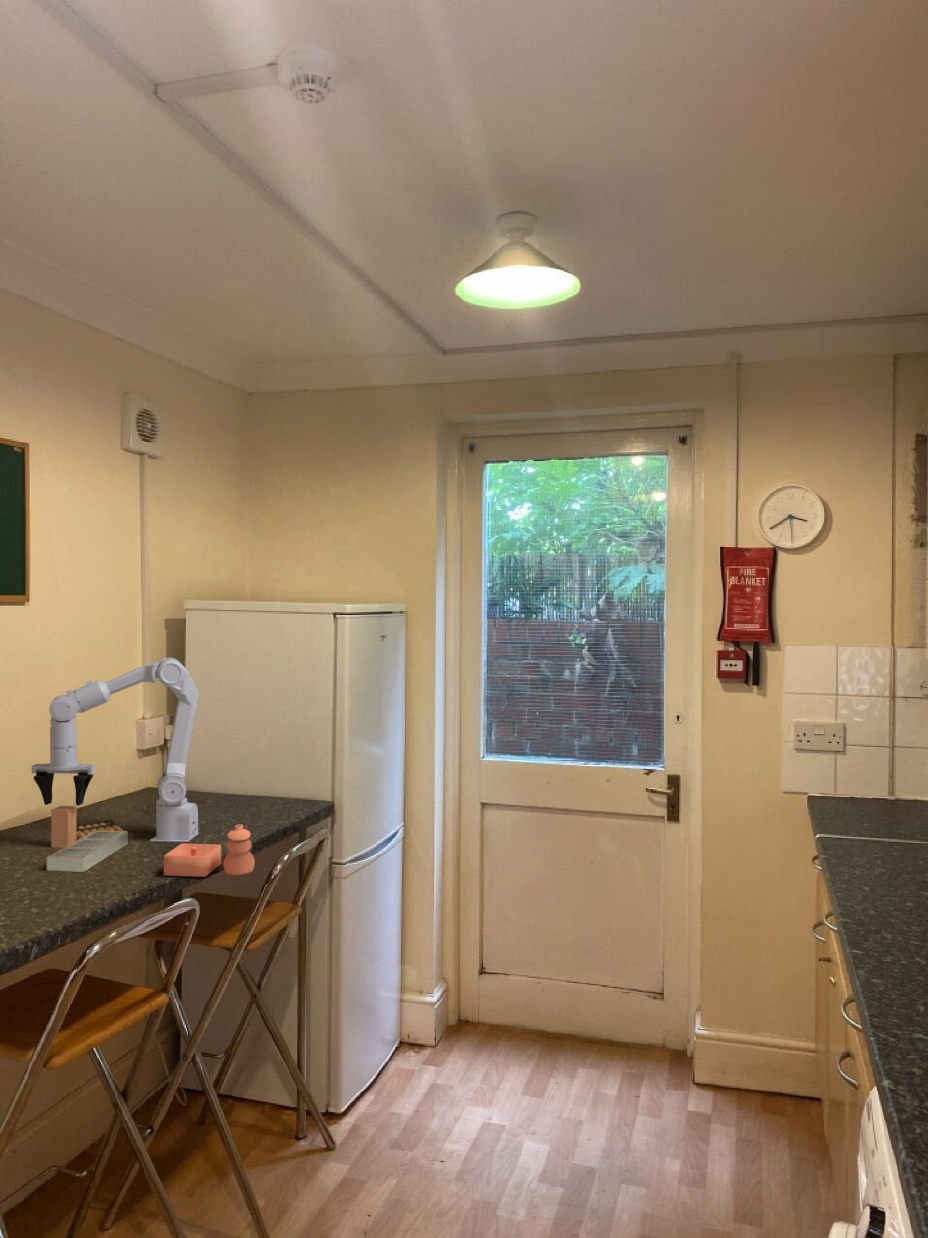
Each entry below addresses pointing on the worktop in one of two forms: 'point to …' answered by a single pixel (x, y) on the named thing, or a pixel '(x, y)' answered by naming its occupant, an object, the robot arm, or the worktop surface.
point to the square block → (63, 826)
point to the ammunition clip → (96, 827)
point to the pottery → (211, 857)
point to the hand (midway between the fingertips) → (63, 804)
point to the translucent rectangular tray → (87, 851)
